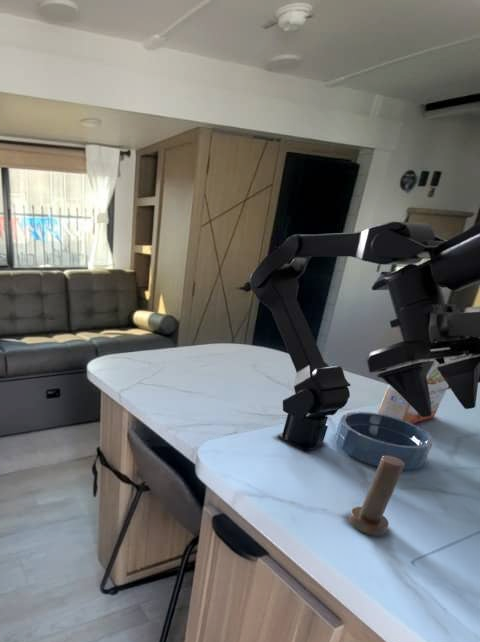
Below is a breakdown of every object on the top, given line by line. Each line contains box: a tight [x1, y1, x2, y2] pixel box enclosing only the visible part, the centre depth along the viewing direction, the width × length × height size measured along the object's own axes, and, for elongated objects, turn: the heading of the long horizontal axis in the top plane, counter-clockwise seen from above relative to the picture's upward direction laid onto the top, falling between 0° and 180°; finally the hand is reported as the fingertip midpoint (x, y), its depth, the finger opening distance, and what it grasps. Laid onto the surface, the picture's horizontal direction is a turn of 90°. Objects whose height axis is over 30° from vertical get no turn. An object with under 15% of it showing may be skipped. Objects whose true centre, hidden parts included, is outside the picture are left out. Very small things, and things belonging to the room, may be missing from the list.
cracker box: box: [377, 359, 449, 424], centre depth 88 cm, size 14×6×21 cm, turn 117°
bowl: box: [334, 411, 434, 471], centre depth 77 cm, size 15×15×5 cm
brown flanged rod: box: [348, 456, 405, 537], centre depth 56 cm, size 5×5×11 cm
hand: (449, 412), depth 56 cm, fingers open, 9 cm apart
